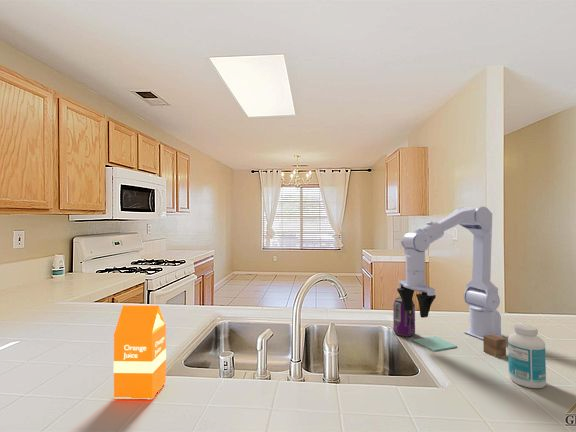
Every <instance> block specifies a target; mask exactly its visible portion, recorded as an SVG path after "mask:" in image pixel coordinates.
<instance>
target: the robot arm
mask: <svg viewBox="0 0 576 432" xmlns="http://www.w3.org/2000/svg"><path fill="white" fill-rule="evenodd" d="M458 225H459V226H461V227H462V228H464V229H465V230H467V231H469V232H470V233H471V234H472V235H473V240H472V277H471V279H470V280H469V281H468V282H467V283H466V284H465V289H464V290H465V291H464V292H463V300H464V302H465V303H466V304H467V308H469V311H468V312H469V316H468V317H469V323H468V324H469V329H467V330H463V333H464V334H467V335H470V336H471V337H475V338H477V339H481V340H483V341H484V336H485V335H491V334H494V335H497V336H500V337H503V338H504V334H502V317H501V314H500V312H499V310H498V308H499V306H500V304H501V299H500V295H499V288H498V287H497V286H496V285H495V284H494V283H492V281H491V273H492V270H491V269H492V268H491V267H492V235H493V213H492V211H491V210H490V209H489V208H488V207H486V206H476V207H475V206H474V207H473V206H472V207H463V206H462V207H461V206H460V207H458V208H457V209H454V210H453V212H451V213H450V214H448V215H447V216H446V217H444V218H443V219H441V220H439V221H432V220H431V221H430V220H429V221H427V222H425V225H424V226H421V227H418V228H415V231H414V232H413V231H409V232H407V233H406V234H404V236H403V237H402V240H401V246H402V248H403V250H404V255H405V280H404V279H403V280H402V279H401V280H398V287H399V288H396V289H397V293H398V294H399V297H401V299H402V302H403V306H404V310H405V311H410V310H411V308H412V299H413V297H414V293H415V292H419V293H418V294H417V293H416V294H415V296H416V298H417V301H418V306H419V315H420V316H419V317H420V318H422V319H423V318H428V317H429V312H430V310H431V307H432V304H433V302H434V301H435V299H436V297H437V296H436V291H435V290H436V289H435V288H433V287H431V286H429V285H427V284H426V251H427V250H428V249H429V248H430V245H431V244H432V243H434V242H435V241H438V240H439V239H441V238H442V237H444V234H445V231H447V230H449V229H452V228H454V227H456V226H458Z"/></svg>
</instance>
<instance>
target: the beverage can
mask: <svg viewBox="0 0 576 432" xmlns="http://www.w3.org/2000/svg"><path fill="white" fill-rule="evenodd" d="M392 306H393V310H392V311H393V313H392V314H393V317H392V319H393V327H392V328H393V332H394V333H395V334H397V335H398V336H400V337H411V336H413V335H415V334H416V305H415V302H414V299H413V298H412V308H411V310H410V311H405V310H404V306H403V302H402V299H401V297H400V296H399V297H395V298H394V302H393V305H392Z"/></svg>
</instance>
